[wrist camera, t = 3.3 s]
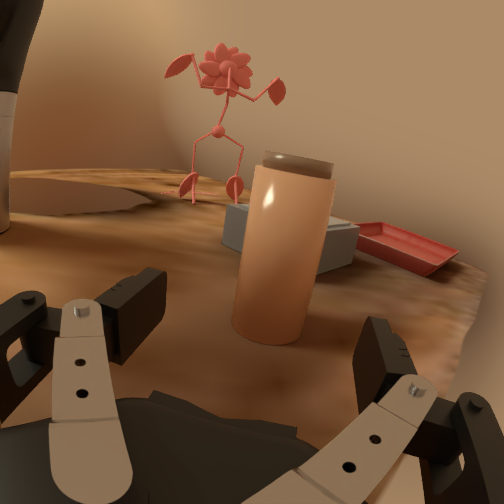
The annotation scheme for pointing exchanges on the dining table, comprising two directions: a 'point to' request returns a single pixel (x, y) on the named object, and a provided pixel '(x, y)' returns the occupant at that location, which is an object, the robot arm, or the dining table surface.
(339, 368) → the dining table surface
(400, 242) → the plant saucer
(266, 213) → the jar
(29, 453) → the robot arm
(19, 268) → the dining table surface
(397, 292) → the dining table surface
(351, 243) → the grey lidded square box
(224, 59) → the figurine
